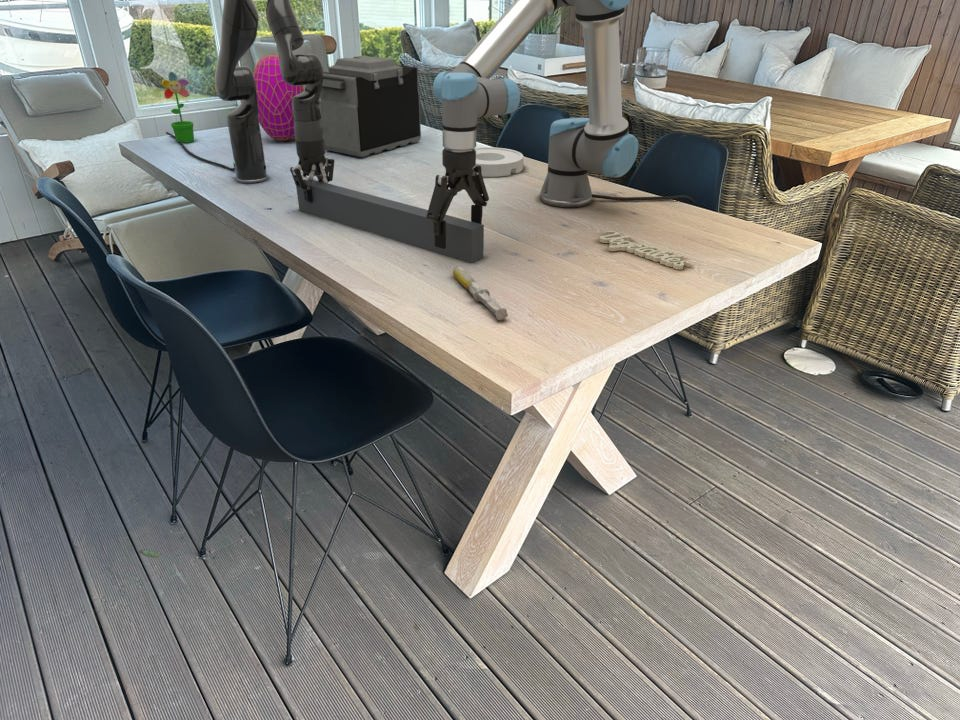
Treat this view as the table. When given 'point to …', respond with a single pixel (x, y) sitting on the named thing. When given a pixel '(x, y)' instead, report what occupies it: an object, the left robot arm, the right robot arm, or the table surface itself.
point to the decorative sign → (643, 250)
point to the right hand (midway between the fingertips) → (458, 239)
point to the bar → (393, 220)
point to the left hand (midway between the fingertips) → (316, 199)
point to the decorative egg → (275, 99)
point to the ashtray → (498, 161)
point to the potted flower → (181, 128)
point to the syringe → (479, 293)
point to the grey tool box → (369, 106)
